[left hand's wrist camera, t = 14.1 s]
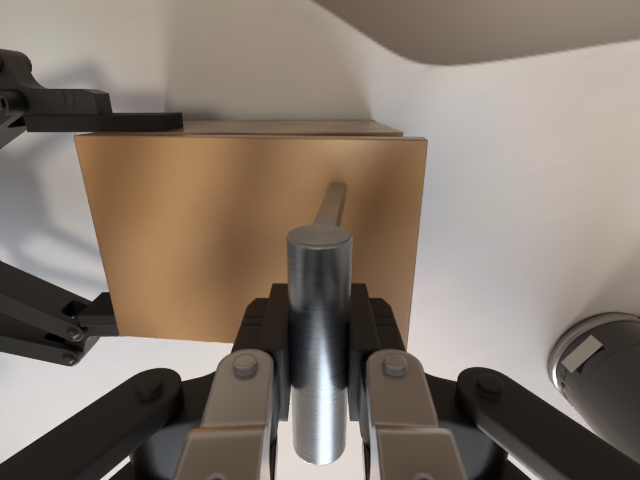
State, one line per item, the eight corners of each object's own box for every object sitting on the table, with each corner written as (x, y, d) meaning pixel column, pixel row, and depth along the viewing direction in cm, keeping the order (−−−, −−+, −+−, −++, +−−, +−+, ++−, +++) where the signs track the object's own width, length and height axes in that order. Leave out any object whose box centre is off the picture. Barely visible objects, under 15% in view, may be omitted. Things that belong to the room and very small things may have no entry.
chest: (372, 120, 26) (403, 132, 17) (366, 254, 30) (389, 320, 21) (163, 120, 26) (88, 132, 17) (183, 256, 29) (129, 324, 21)
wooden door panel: (424, 137, 15) (484, 179, 7) (404, 343, 19) (430, 517, 11) (89, 133, 17) (-149, 165, 9) (130, 324, 21) (-14, 464, 13)
